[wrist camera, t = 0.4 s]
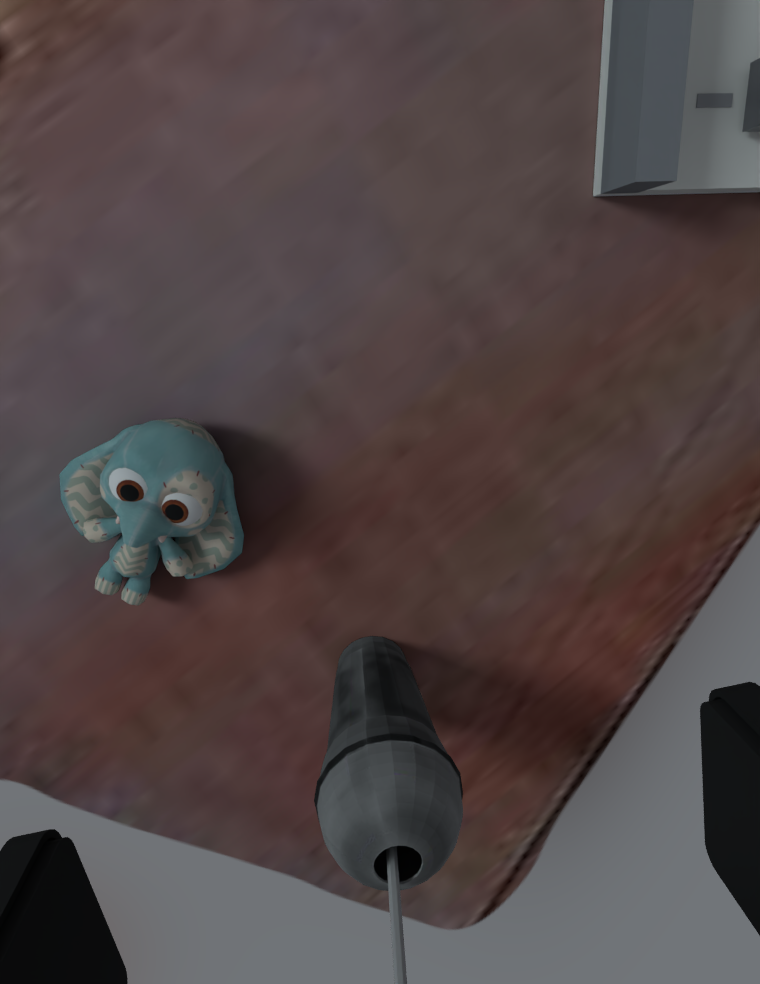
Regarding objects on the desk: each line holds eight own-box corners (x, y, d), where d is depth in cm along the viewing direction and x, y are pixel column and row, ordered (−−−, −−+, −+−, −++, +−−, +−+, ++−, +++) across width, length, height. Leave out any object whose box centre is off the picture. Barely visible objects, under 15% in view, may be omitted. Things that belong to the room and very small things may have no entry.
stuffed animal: (-12, 603, 34) (48, 408, 29) (51, 532, 40) (109, 363, 35) (185, 678, 36) (271, 509, 31) (215, 599, 42) (291, 449, 37)
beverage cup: (442, 632, 42) (540, 913, 23) (406, 724, 44) (469, 1053, 25) (335, 604, 41) (346, 877, 22) (302, 700, 43) (286, 1028, 24)
